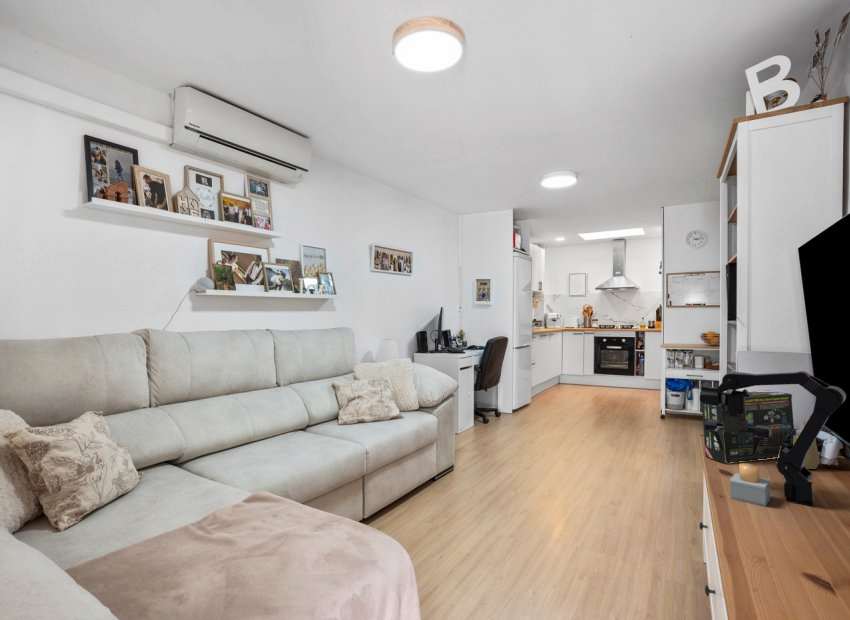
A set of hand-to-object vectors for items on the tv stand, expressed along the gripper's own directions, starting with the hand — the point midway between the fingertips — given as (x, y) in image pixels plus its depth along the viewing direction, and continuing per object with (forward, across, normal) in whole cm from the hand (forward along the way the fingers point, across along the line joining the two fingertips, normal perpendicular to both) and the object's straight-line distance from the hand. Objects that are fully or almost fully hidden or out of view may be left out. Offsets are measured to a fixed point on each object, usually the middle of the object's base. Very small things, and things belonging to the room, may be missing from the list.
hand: (738, 452), depth 149 cm
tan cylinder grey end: (+6, +4, -9) cm, 12 cm away
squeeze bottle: (+12, +14, +39) cm, 43 cm away
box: (+12, +4, -9) cm, 16 cm away
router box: (+12, -4, +41) cm, 43 cm away
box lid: (+7, +5, -9) cm, 12 cm away
